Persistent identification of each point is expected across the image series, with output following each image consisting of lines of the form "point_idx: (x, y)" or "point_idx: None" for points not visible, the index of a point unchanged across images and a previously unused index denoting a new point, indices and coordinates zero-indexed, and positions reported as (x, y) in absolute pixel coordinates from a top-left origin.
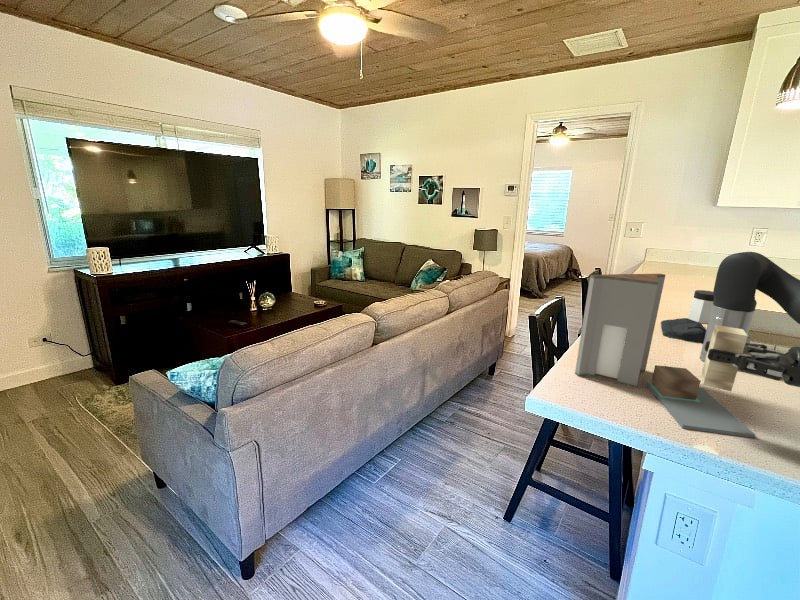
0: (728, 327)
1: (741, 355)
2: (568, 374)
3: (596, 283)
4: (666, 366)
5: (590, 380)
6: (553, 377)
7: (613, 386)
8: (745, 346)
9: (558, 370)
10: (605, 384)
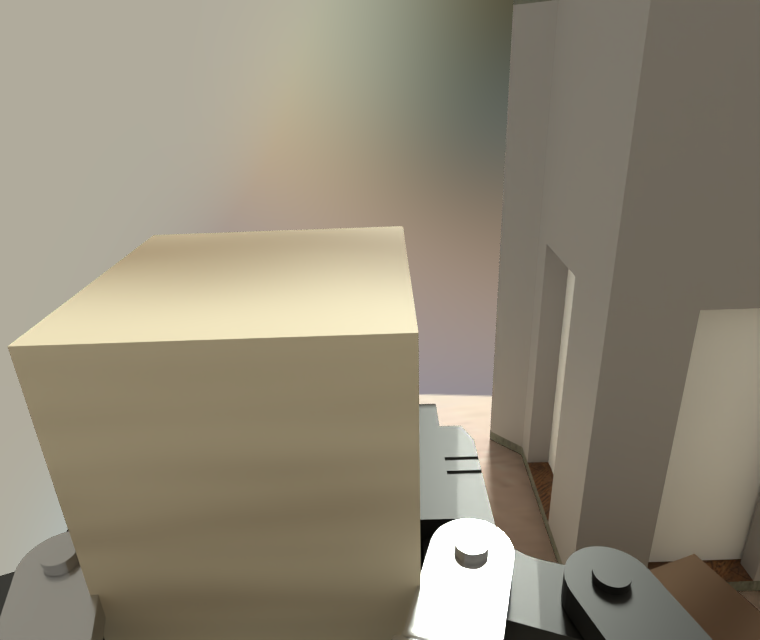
0: (377, 264)
1: (21, 580)
2: (479, 419)
3: (526, 30)
4: (748, 603)
5: (487, 466)
6: (419, 400)
7: (500, 525)
8: (401, 637)
9: (487, 399)
10: (494, 503)
